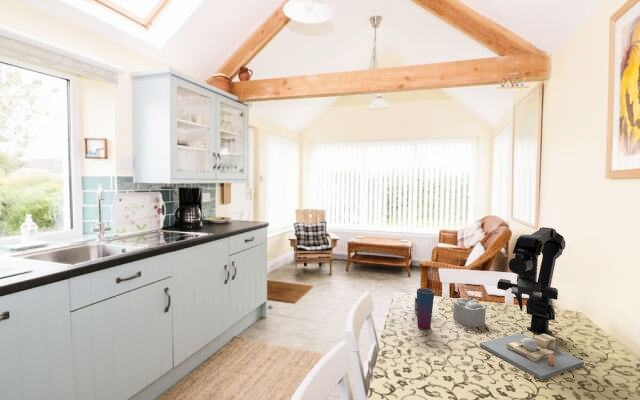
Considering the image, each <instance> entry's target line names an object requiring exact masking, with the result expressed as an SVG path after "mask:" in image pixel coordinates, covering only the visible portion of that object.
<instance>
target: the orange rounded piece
mask: <svg viewBox="0 0 640 400" xmlns="http://www.w3.org/2000/svg"><path fill="white" fill-rule="evenodd" d="M554 363H555V356H553V355H549V360H548V365H549V366H552V367H554Z"/></svg>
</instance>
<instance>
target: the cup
mask: <svg viewBox="0 0 640 400" xmlns="http://www.w3.org/2000/svg"><path fill="white" fill-rule="evenodd" d="M416 295H417V314H416V316H417V322H416V323H417V328H418V329H422V330H424V331H425V330H426V331H428V330H431V326H432V319H433V318H432V316H433V315H432V314H433V306H434V298H435V291H434V290H433V289H430V288H427V287H426V288H425V287H421V288H417V289H416Z"/></svg>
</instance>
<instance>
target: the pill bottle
mask: <svg viewBox="0 0 640 400" xmlns="http://www.w3.org/2000/svg"><path fill="white" fill-rule="evenodd" d="M413 311H414V313H415V314H416V315H417V294H416V295H415V297H414V310H413Z"/></svg>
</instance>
